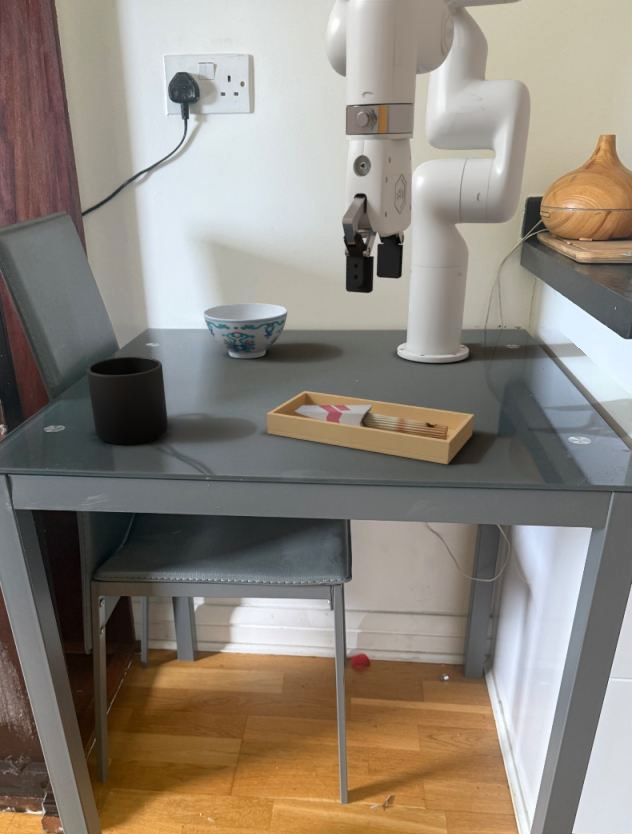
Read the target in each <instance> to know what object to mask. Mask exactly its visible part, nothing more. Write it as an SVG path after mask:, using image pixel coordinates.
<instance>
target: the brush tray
mask: <svg viewBox="0 0 632 834" xmlns="http://www.w3.org/2000/svg"><path fill="white" fill-rule="evenodd" d="M302 405H373V406H372V408H371V410H370V412H369V413H373V414H379V415H385V416H391V417H397V418H403V419H409V420H415V421H421V422H427V423H430V424H433V425H435V424H441V425H447V426H448V431H447V432H448V433H447V436H446V439H445V440H443V439H437V438H432V436H419V435H413V434H407V433H401V432H395V431H389V430H383V429H377V428H371V427H369V428H367V427H360V426H354V425H348V424H341V423H335V422H329V421H322V420H318V419H315V418H312V417H309V416H306V415H303V414H300V413H297V412H295V411H296V410H297V409H298V408H300V407H301V406H302ZM474 420H475V414H473V413H465V412H458V411H451V410H445V409H437V408H430V407H422V406H416V405H408V404H402V403H394V402H387V401H381V400H372V399H367V398H366V399H365V398H358V397H351V396H343V395H338V394H329V393H323V392H316V391H315V392H314V391H310V390H309V391H307V390H303V391H302V392H300V393H299V394H297V395H295V396H294V397H292V398H290V399H288V400H287V401H285V402H283V403H282V404H280V405H278V406H277V407H275V408H274V409H272V410H270V411H269V412H267V413H266V423H267V427H266V428H267V434H269V435H275V436H280V437H287V438H292V439H298V440H303V441H309V442H315V443H321V444H326V445H327V444H328V445H332V446H339V447H345V448H349V449H350V448H351V449H356V450H362V451H367V452H372V453H379V454H385V455H390V456H395V457H402V458H407V459H414V460H419V461H425V462H432V463H436V464H443V465H449V463H450V462H451V461H452V460H453V458H454V457H455V456H456V455H457V454H458V452H460V451H461V450H462V448H463V446H464V445H465V444H466V443H467V442H468V440H469V439H470V438H471V437H472V436H473V430H474Z"/></svg>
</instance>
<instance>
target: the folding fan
mask: <svg viewBox="0 0 632 834" xmlns="http://www.w3.org/2000/svg"><path fill="white" fill-rule="evenodd" d="M372 406H373V405H302V406H301V407H300V408H298V409H297V410H296V411H295V412H297V413H300V414H303V415H306V416H309V417H312V418H315V419H318V420H322V421H329V422H335V423H341V424H348V425H354V426H360V427H367V428H369V427H371V428H377V429H383V430H389V431H395V432H401V433H407V434H413V435H419V436H432V438H437V439H443V440H445V439H446V436H447V433H448V432H447V431H448V426H447V425H441V424H435V425H433V424H430V423H427V422H421V421H415V420H409V419H403V418H397V417H391V416H385V415H379V414H373V413H369V412H370V410H371V408H372Z"/></svg>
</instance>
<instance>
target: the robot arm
mask: <svg viewBox="0 0 632 834" xmlns="http://www.w3.org/2000/svg"><path fill="white" fill-rule="evenodd" d="M521 1H522V0H335V3H334V4H333V6H332V8H331V12H330V14H329V17H328V21H327V25H326V31H325V50H326V56H327V60H328V63H329V64H330V67H331V68H332V69H333V71H334V72H335V73H336V74H338V75H339V76H342V77H344V78H345V131H344V132H345V133H344V135H345V137H344V139H345V141H349V143H348V153H347V163H346V164H347V165H346V175H345V176H346V177H345V193H344V195H345V197H344V215H343V217H342V220H341V225H342V230H343V234H344V235H343V238H342V240H343V242H344V245H345V247H344V255H345V290H346V291H347V292H348V293H361V294H370V293H372V292H373V291H374V268H375V267H374V263H375V256H373V255H372V251H373V248H374V244H375V241H376V237H377V234H378V238H379V241H380V243H377V247H376V249H377V250H376V251H377V252H376V277H377V278H379V279H383V278H384V279H395V280H397V279H400V278H401V277H402V276H403V260H404V259H403V257H404V242H405V234H404V231H406V230H407V229H408V228H409V227H410V226H411V254H410V255H411V256H410V271H409V272H410V273H409V276H410V277H409V292H408V310H407V327H406V342H403V343H401V344H399V345H398V346H397V351H396V353H397V355H398V356H399V357H400V358H402V359H403V360H404V359H405V360H408V361H412V362H417V363H428V364H446V363H454V362H460V361H462V360H465V359H467V358H468V357H469V353H470V348H469V347H468V346H466V345H464V344H462V334H463V324H464V323H463V322H464V313H465V311H464V310H465V300H466V290H467V280H468V279H467V278H468V267H469V255H470V254H469V248H468V244H467V243H466V241H465V239H464V237H463V235H462V234H461V233H460V231H459V230H458V228H457V226H456V225H458V224H502V223H506V222H509V221H510V220H511V219H512V218H513V217H514V216H515V214H516V212H517V210H518V207H519V203H520V199H521V193H522V192H521V191H522V184H523V178H524V169H525V162H526V154H527V146H528V137H529V131H530V130H529V129H530V122H531V121H530V120H531V108H532V107H531V95H530V91H529V88H528V86H527V85H526V84H525V83H524V82H523V81H522V80H520V79H519V80H518V79H513V78H502V79H501V78H500V79H486V70H487V61H488V54H489V46H488V45H489V44H488V40H487V38H486V36H485V34H484V32H483V31H482V29H481V27H480V26H479V23H477V21H476V20H475V19H474V18H473V16H472V15H471V13H470V12H469V11H468V10H467V9H466V8H469V7H484V6H485V7H486V6H494V5H495V6H497V5H507V4H514V3H519V2H521ZM423 74H424V75H425V74H429V80H428V88H427V89H428V91H427V100H426V111H425V138H426V140H427V143H428V144H429V146H431V147H433V148H435V149H438V150H445V151H475V150H477V151H478V150H479V151H480V150H489V151H493V153H495V157H476V158H475V157H472V158H471V157H445V158H435V159H434V158H433V159H429V160H427V161H424V162H422V163H420V164H419V165H418V166H417V167H416V168H415V169H414V170H412V168H413V167H412V147H411V140H410V139H414V130H415V129H414V128H415V127H414V126H415V109H416V108H415V107H416V106H415V105H416V88H417V75H423ZM364 239H365V241H364Z"/></svg>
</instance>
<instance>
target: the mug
mask: <svg viewBox="0 0 632 834" xmlns="http://www.w3.org/2000/svg"><path fill="white" fill-rule="evenodd" d="M163 370H164V369H163V363H162V362H161V361H160V360H159V359H155V358H152V357H146V356H119V357H112V358H107V359H103V360H99V361H96V362H93V363H91V364H89V365H88V366H87V368H86V376H87V382H88V383H87V384H88V390H89V395H90V396H89V397H90V402H91V408H92V409H91V410H92V417H93V423H94V429H95V435H96V437H97V438H98V440H100V441H102V442H105V443H108V444H114V445H135V444H142V443H146V442H147V443H148V442H151V441H154V440H157V439H159V438H161V437H163V436H164V435H165V434H167V431H168V429H169V422H168V421H169V420H168V412H167V403H166V402H167V400H166V391H165V381H164V371H163Z"/></svg>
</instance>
